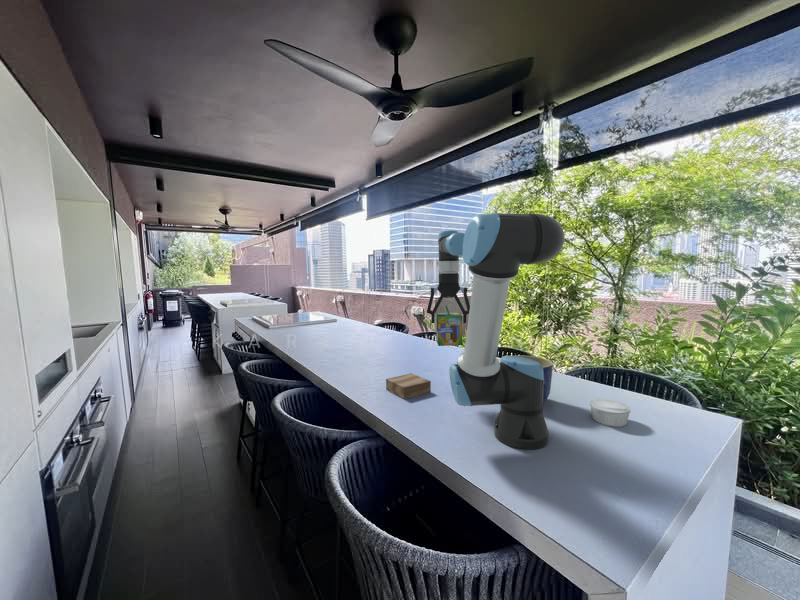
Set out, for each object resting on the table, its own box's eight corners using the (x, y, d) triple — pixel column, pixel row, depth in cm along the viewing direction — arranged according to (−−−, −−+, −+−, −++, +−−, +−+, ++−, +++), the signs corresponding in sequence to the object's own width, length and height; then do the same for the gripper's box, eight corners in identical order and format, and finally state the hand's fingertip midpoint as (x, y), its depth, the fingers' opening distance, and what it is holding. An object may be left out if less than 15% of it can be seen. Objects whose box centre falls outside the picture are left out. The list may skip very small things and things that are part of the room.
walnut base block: (430, 393, 139) (430, 381, 138) (404, 400, 132) (404, 387, 131) (411, 384, 150) (411, 373, 149) (386, 390, 142) (386, 378, 142)
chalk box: (462, 346, 127) (462, 306, 125) (437, 346, 127) (437, 306, 126) (459, 341, 136) (459, 303, 135) (436, 341, 136) (435, 304, 135)
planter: (499, 405, 124) (499, 364, 123) (508, 390, 139) (508, 353, 138) (550, 413, 117) (551, 369, 115) (553, 397, 132) (554, 358, 130)
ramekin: (609, 431, 104) (610, 414, 103) (581, 416, 115) (581, 400, 114) (638, 426, 107) (639, 409, 106) (608, 412, 118) (608, 397, 117)
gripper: (477, 272, 131) (477, 330, 133) (420, 273, 134) (420, 329, 136) (479, 272, 124) (479, 333, 126) (418, 273, 127) (419, 333, 129)
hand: (448, 331), depth 131 cm, fingers closed on chalk box, 9 cm apart
